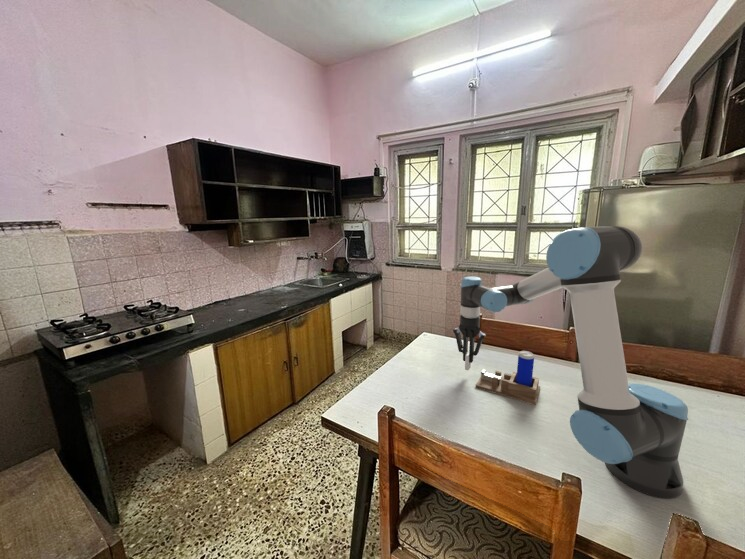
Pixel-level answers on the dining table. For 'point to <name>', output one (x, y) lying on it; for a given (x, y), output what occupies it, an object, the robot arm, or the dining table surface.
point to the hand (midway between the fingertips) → (467, 368)
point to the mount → (511, 387)
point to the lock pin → (489, 376)
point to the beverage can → (525, 368)
